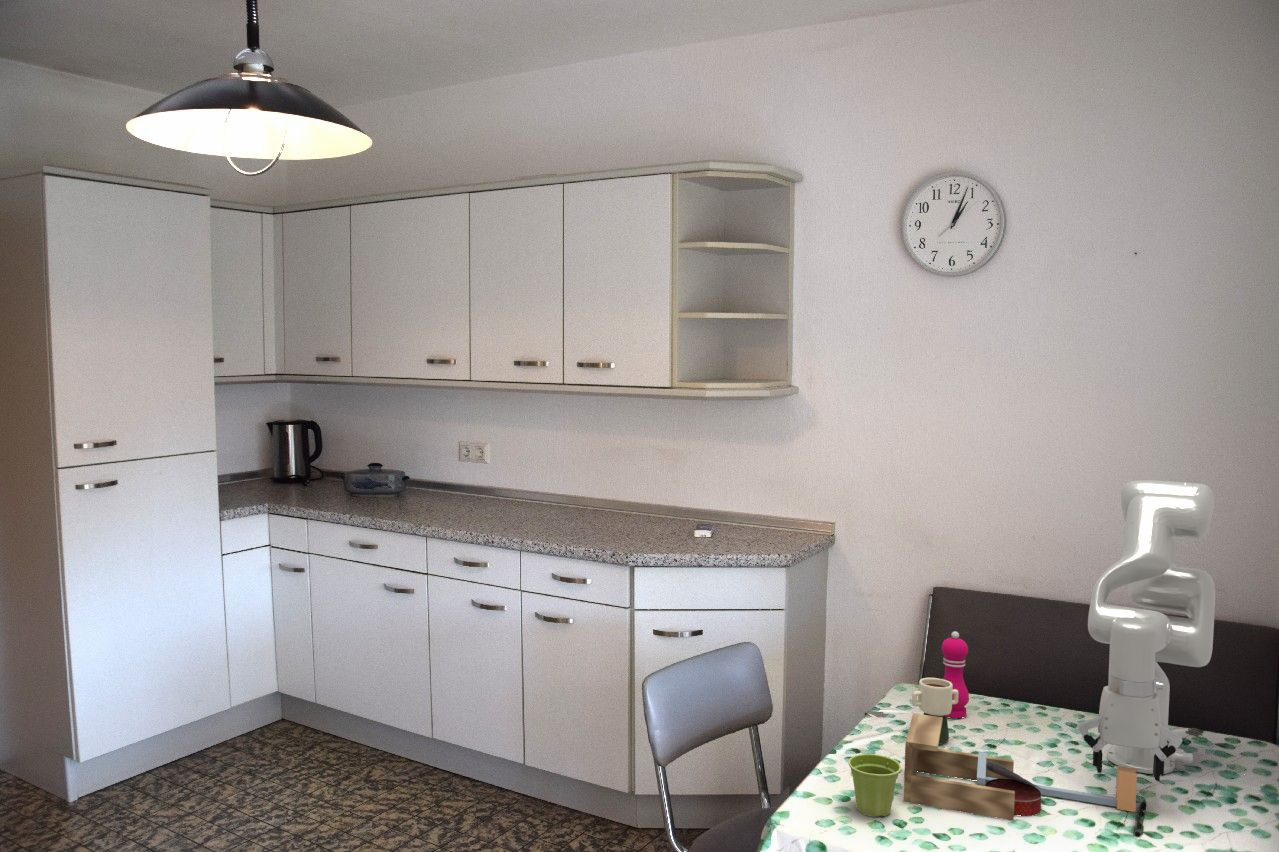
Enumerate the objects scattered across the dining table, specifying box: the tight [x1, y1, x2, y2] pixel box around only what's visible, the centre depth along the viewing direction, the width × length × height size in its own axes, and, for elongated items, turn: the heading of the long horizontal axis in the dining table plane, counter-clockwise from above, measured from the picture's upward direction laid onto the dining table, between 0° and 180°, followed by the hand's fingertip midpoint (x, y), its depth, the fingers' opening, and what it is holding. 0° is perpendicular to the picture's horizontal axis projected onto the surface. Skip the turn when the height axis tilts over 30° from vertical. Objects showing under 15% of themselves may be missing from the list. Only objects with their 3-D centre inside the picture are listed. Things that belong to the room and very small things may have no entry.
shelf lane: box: [902, 712, 1015, 822], centre depth 180 cm, size 19×16×12 cm
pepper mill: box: [941, 630, 970, 719], centre depth 223 cm, size 7×7×20 cm
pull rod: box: [976, 751, 1138, 813], centre depth 175 cm, size 28×14×7 cm, turn 69°
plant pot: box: [847, 753, 902, 818], centre depth 172 cm, size 9×9×9 cm
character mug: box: [911, 677, 958, 744], centre depth 207 cm, size 11×7×13 cm, turn 101°
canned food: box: [985, 762, 1043, 817], centre depth 176 cm, size 11×10×10 cm
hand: (1127, 774), depth 176 cm, fingers open, 9 cm apart
